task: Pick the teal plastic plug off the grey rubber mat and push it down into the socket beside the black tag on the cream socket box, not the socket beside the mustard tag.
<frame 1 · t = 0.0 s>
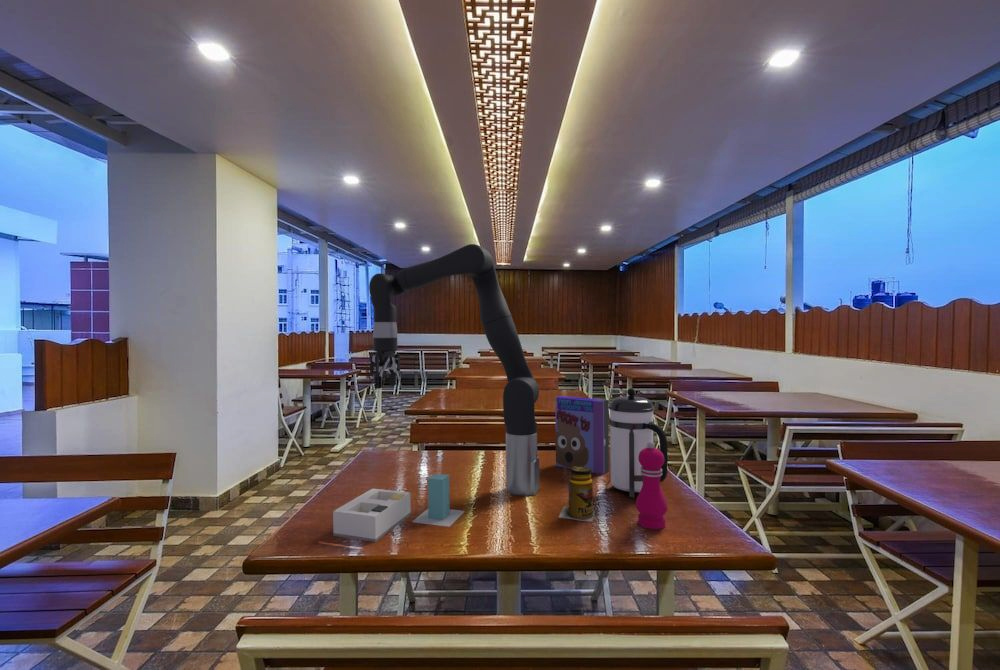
hand: (385, 386, 149), 29 cm above the table, tool pointing down, fingers open, 8 cm apart
socket box: (374, 526, 112), on the table
coffee press: (636, 493, 134), on the table
mat: (439, 517, 117), on the table
pepper mill: (651, 525, 112), on the table
plug: (439, 516, 117), resting on mat
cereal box: (581, 469, 158), on the table
condiment: (577, 515, 118), on the table
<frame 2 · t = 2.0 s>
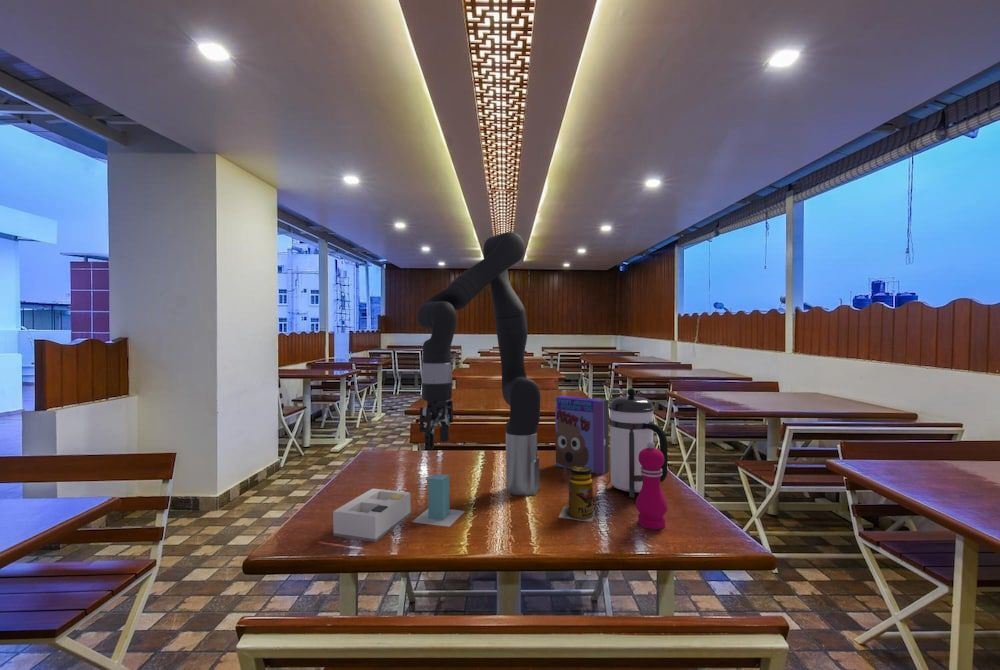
hand: (437, 444, 117), 18 cm above the table, tool pointing down, fingers open, 8 cm apart
nothing on the table moved.
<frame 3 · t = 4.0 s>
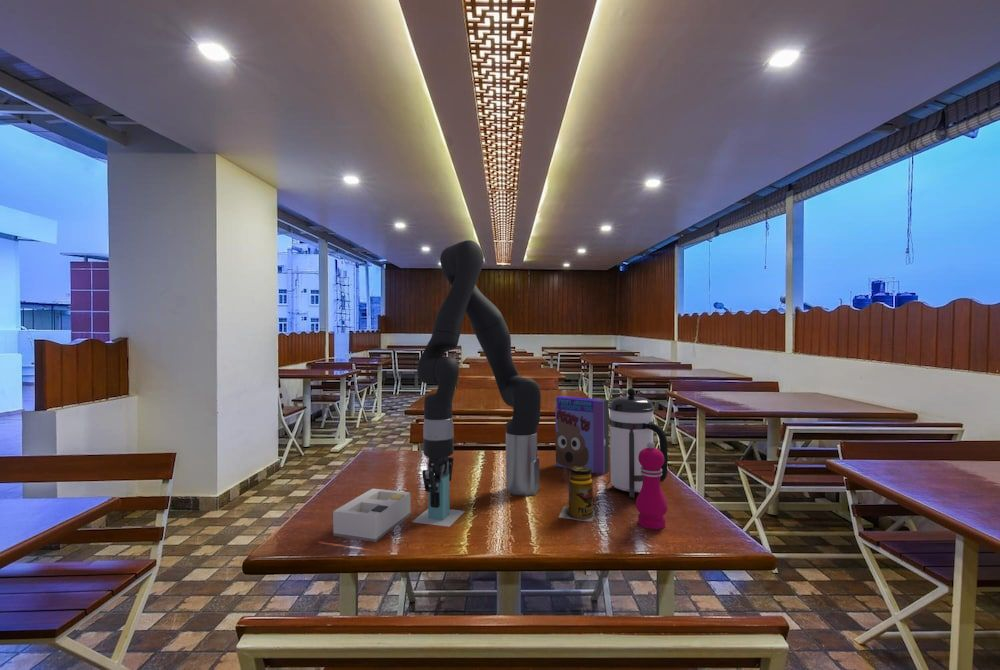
hand: (439, 503, 117), 4 cm above the table, tool pointing down, fingers closed on plug, 4 cm apart
plug: (439, 516, 117), resting on mat, touching gripper
everything else where it was.
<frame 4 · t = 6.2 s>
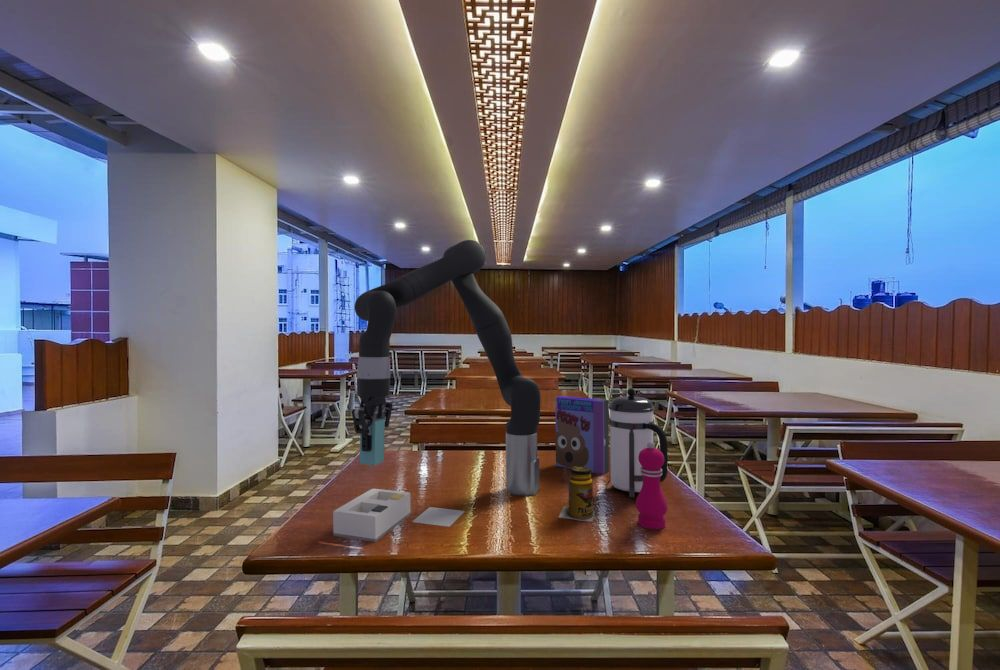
hand: (372, 448, 109), 19 cm above the table, tool pointing down, fingers closed on plug, 4 cm apart
plug: (371, 462, 109), point 16 cm above the table, touching gripper
everything else where it was.
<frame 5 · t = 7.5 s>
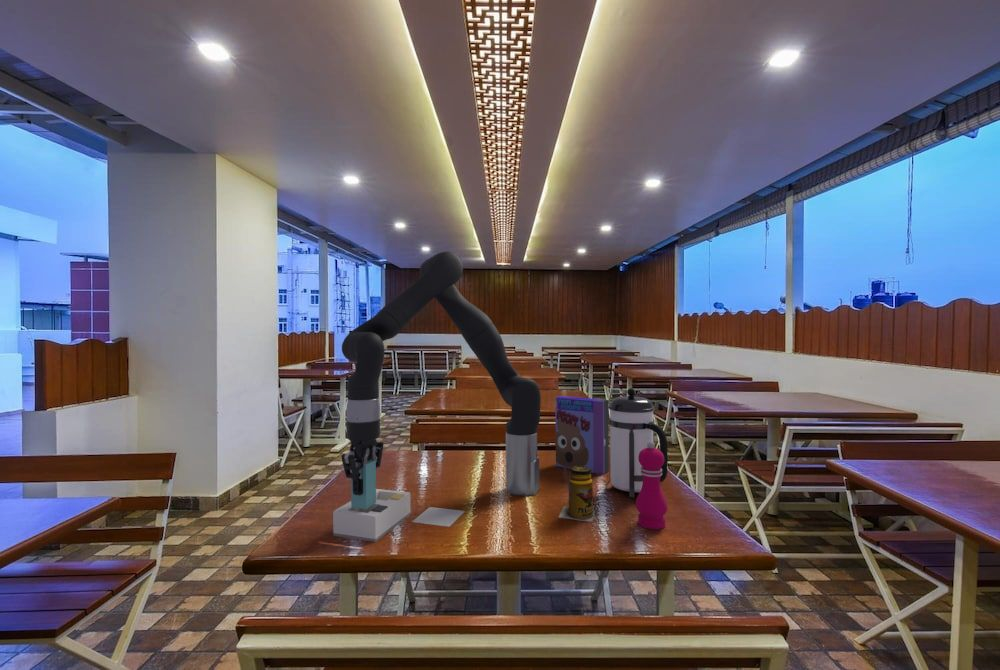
hand: (364, 490, 108), 10 cm above the table, tool pointing down, fingers closed on plug, 4 cm apart
plug: (363, 504, 108), point 7 cm above the table, touching gripper
everything else where it was.
when the fingers open (7 cm above the table, at t = 8.5 s): plug drops 2 cm, resting on socket box.
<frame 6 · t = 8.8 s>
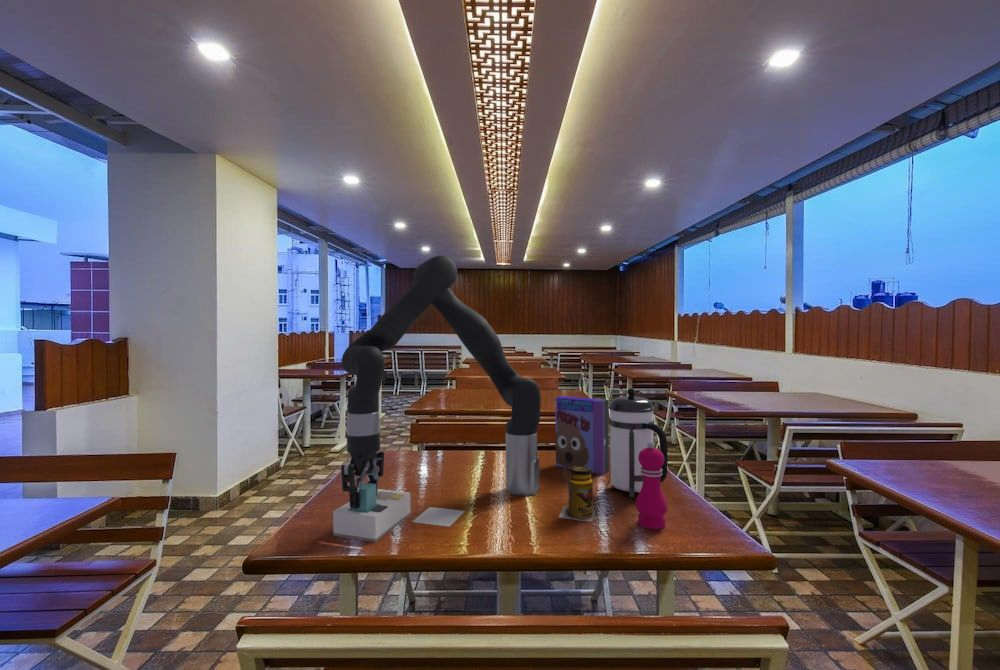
hand: (364, 502, 108), 7 cm above the table, tool pointing down, fingers open, 6 cm apart
plug: (364, 528, 108), point 1 cm above the table, touching socket box
everything else where it was.
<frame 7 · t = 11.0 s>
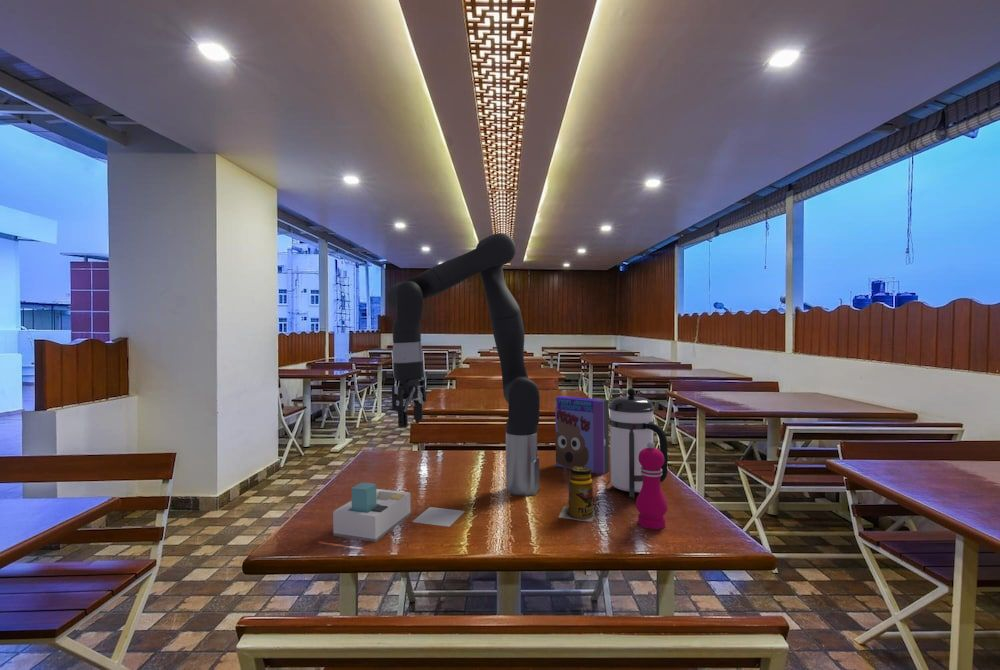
hand: (411, 423, 119), 23 cm above the table, tool pointing down, fingers open, 8 cm apart
nothing on the table moved.
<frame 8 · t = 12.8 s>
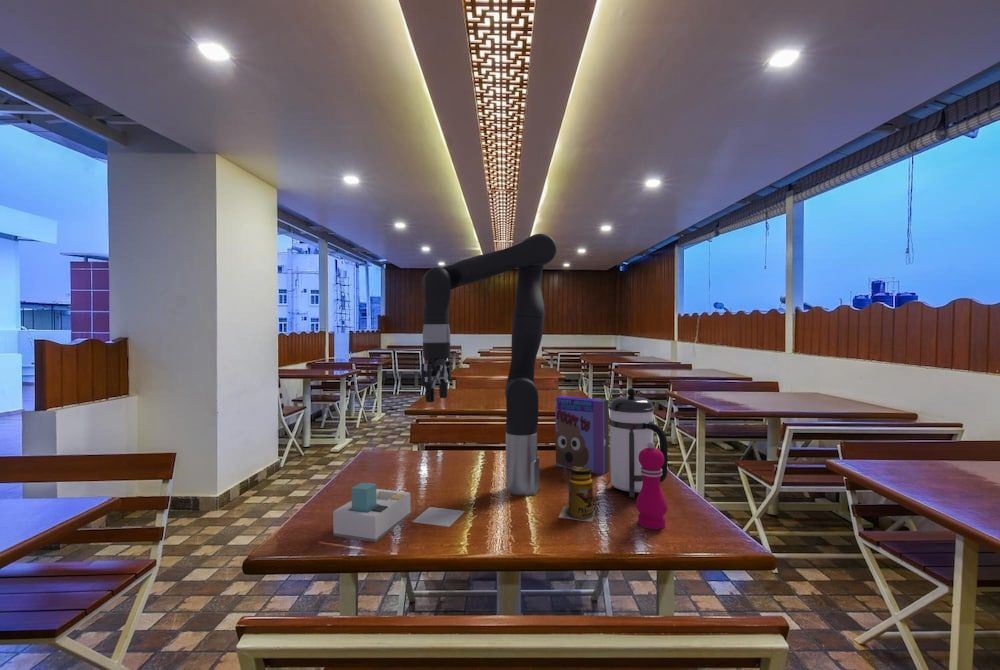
hand: (437, 399, 127), 28 cm above the table, tool pointing down, fingers open, 8 cm apart
nothing on the table moved.
at the end: plug 0.0 cm from the target spot on the socket box, point 1.0 cm above the socket box's base; plug tilted 0°; the gripper is holding nothing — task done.
